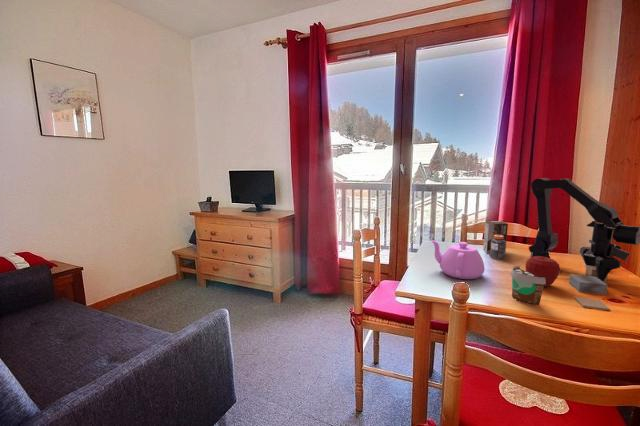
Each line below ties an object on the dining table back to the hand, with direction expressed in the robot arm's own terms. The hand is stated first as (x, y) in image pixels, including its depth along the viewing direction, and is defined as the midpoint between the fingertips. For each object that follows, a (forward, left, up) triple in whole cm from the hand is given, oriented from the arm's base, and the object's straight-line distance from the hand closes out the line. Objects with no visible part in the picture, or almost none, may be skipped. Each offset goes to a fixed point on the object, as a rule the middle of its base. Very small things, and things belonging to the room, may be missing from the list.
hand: (595, 277), depth 122 cm
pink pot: (-52, -12, -1) cm, 53 cm away
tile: (-11, -27, -1) cm, 29 cm away
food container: (-32, -31, -1) cm, 45 cm away
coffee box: (-32, +28, -1) cm, 43 cm away
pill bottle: (-32, +18, -1) cm, 37 cm away
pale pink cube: (+5, +16, -1) cm, 17 cm away
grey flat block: (-7, -12, -1) cm, 14 cm away
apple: (-22, -14, -1) cm, 26 cm away
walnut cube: (0, 0, -1) cm, 1 cm away
